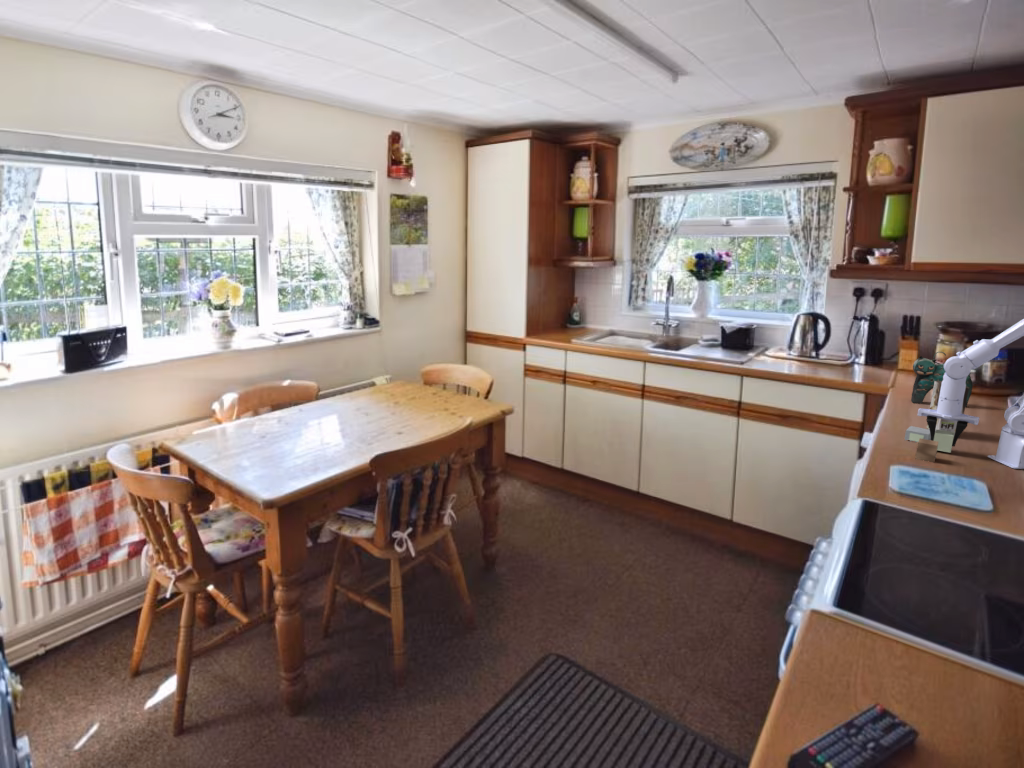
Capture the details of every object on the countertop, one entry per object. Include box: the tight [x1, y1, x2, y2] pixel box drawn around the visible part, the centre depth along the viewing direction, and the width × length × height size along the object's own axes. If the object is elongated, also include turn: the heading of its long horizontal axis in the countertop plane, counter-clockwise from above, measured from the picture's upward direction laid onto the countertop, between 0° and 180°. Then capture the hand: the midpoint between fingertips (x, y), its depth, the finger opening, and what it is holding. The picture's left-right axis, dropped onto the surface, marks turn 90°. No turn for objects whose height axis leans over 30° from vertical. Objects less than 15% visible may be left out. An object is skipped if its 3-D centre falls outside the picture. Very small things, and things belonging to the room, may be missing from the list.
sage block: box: [934, 429, 955, 453], centre depth 185 cm, size 4×4×5 cm
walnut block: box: [915, 438, 938, 463], centre depth 178 cm, size 4×4×5 cm
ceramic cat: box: [910, 351, 974, 408], centre depth 237 cm, size 20×6×20 cm, turn 73°
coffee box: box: [926, 381, 969, 436], centre depth 202 cm, size 9×6×16 cm
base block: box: [904, 425, 931, 443], centre depth 195 cm, size 6×6×4 cm
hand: (942, 443), depth 185 cm, fingers closed on sage block, 4 cm apart
